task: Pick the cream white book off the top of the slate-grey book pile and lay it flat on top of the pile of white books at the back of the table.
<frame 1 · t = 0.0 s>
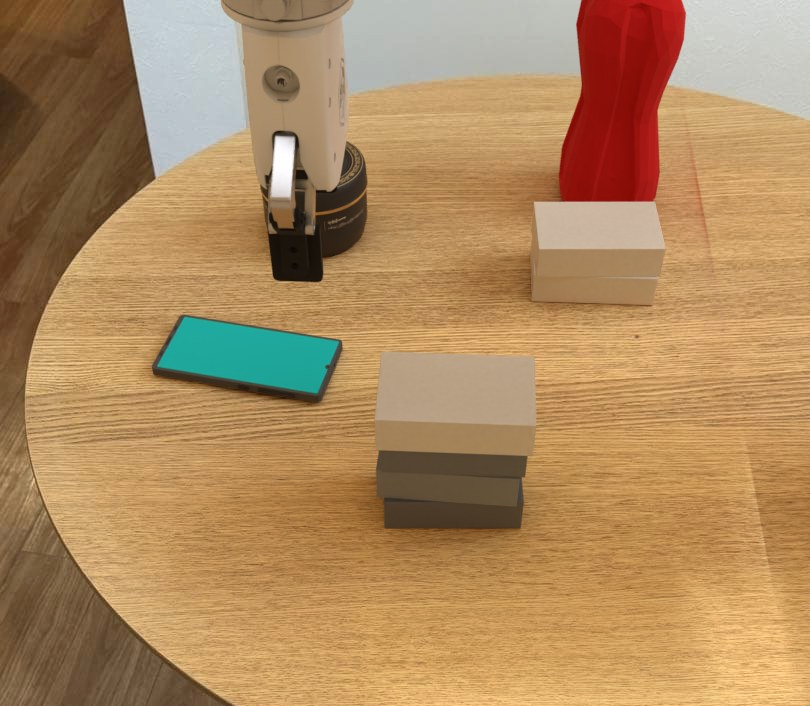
hand: (306, 232, 77), 21 cm above the table, tool pointing down, fingers open, 9 cm apart
smartphone: (248, 363, 100), on the table
grey pile: (451, 501, 90), on the table
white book: (455, 418, 83), point 9 cm above the table, touching grey pile
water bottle: (603, 193, 116), on the table
white pile: (590, 279, 107), on the table
jar: (317, 233, 112), on the table
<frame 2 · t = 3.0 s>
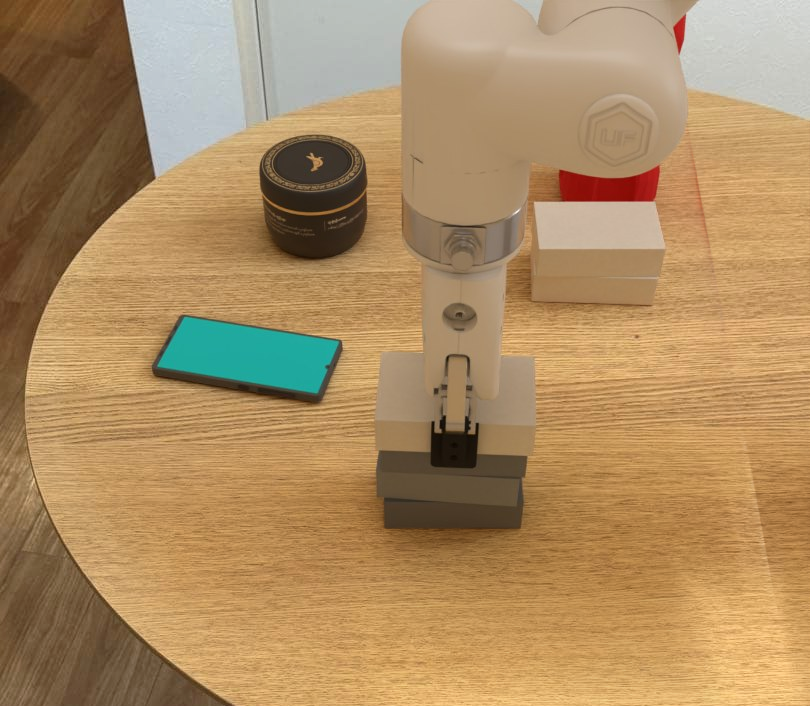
hand: (454, 423, 83), 8 cm above the table, tool pointing down, fingers closed on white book, 7 cm apart
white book: (455, 418, 83), point 9 cm above the table, touching grey pile, gripper
everything else where it was.
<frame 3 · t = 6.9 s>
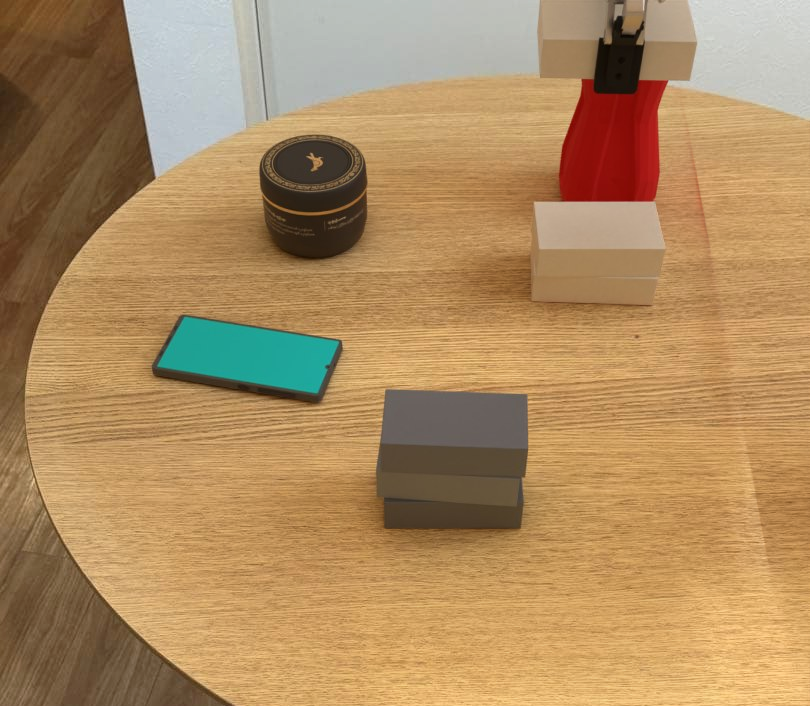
hand: (611, 63, 88), 23 cm above the table, tool pointing down, fingers closed on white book, 7 cm apart
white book: (611, 55, 87), point 23 cm above the table, touching gripper
everything else where it was.
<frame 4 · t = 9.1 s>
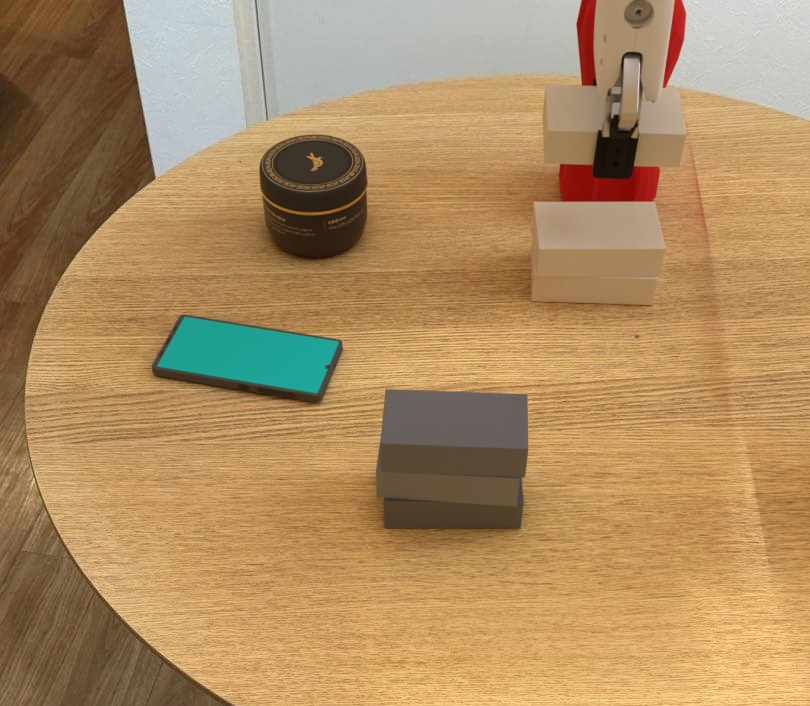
hand: (609, 148, 97), 14 cm above the table, tool pointing down, fingers closed on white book, 7 cm apart
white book: (609, 141, 96), point 14 cm above the table, touching gripper
everything else where it was.
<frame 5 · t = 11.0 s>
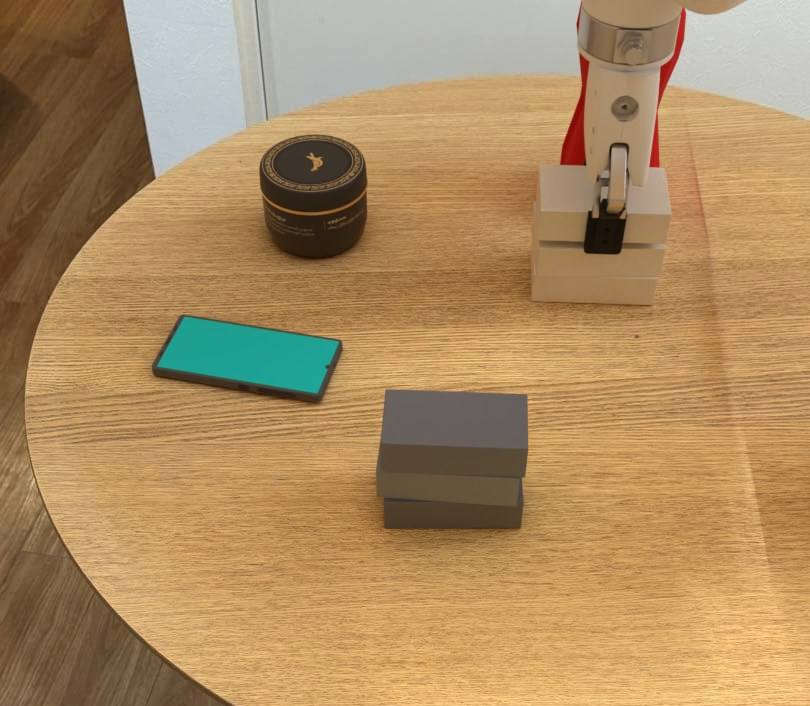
hand: (599, 223, 102), 6 cm above the table, tool pointing down, fingers closed on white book, 7 cm apart
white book: (599, 218, 102), point 7 cm above the table, touching gripper
everything else where it was.
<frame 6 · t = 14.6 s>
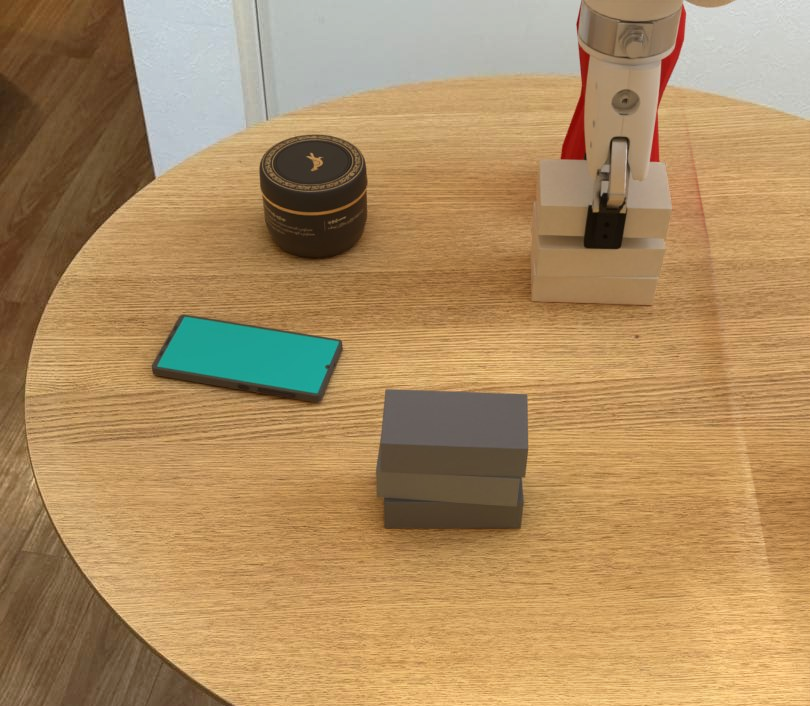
hand: (599, 218, 102), 7 cm above the table, tool pointing down, fingers closed on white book, 7 cm apart
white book: (599, 213, 101), point 7 cm above the table, touching gripper
everything else where it was.
when the fingers open (6 cm above the table, at t = 17.6 s): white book drops 1 cm, resting on white pile.
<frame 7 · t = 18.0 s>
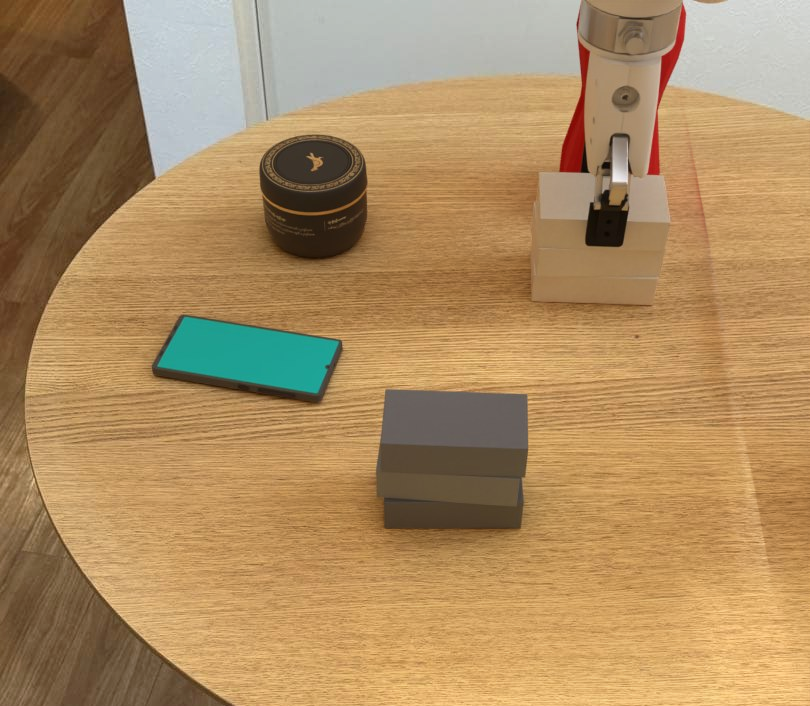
hand: (600, 210, 101), 7 cm above the table, tool pointing down, fingers open, 9 cm apart
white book: (599, 225, 102), point 6 cm above the table, touching white pile
everything else where it was.
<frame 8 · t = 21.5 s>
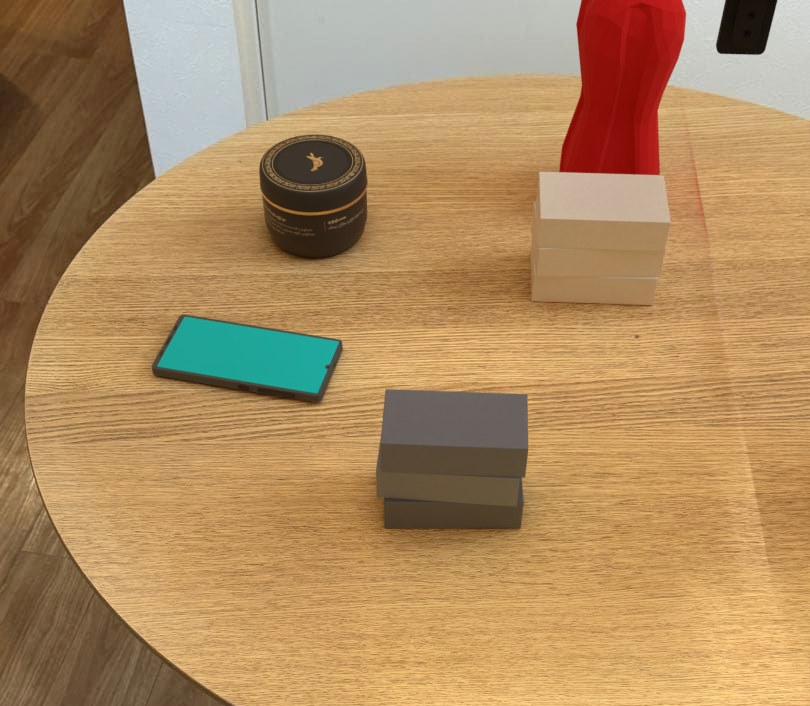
hand: (730, 16, 80), 28 cm above the table, tool pointing down, fingers open, 9 cm apart
nothing on the table moved.
at the end: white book 0.1 cm off-centre on the white pile, point 6.0 cm above the white pile's base; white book tilted 0°; the gripper is holding nothing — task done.
